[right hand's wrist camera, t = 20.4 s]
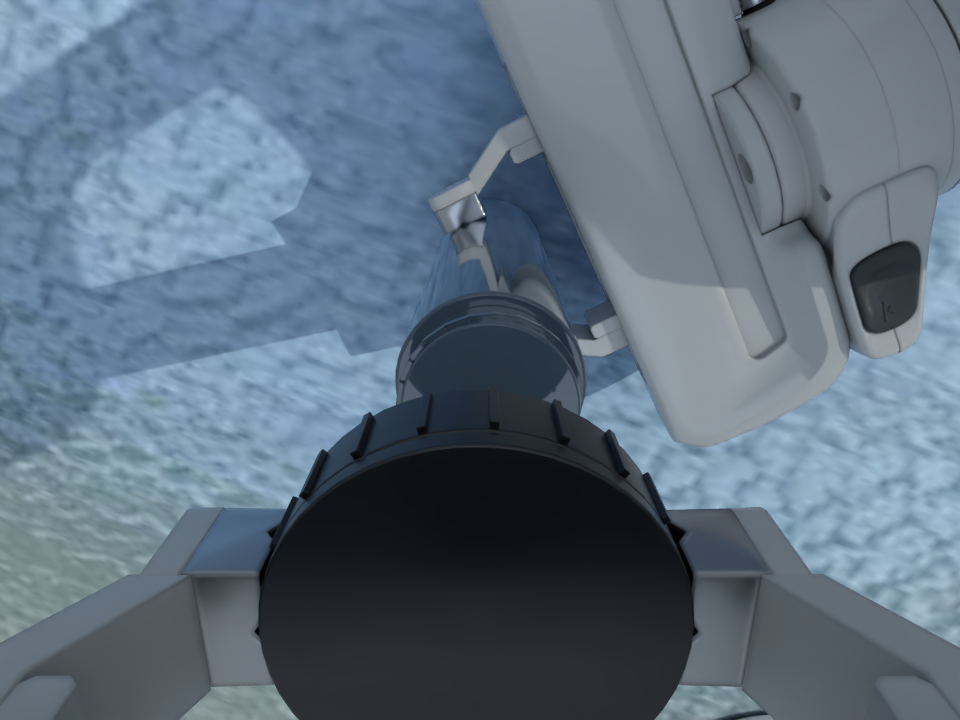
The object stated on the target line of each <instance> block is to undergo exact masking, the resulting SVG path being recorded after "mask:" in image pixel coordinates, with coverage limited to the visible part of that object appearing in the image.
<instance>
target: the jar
mask: <svg viewBox="0 0 960 720" xmlns="http://www.w3.org/2000/svg"><path fill="white" fill-rule="evenodd" d="M482 201H483V203H484V205H485V207H486V216H484V217H482V218H480V219H478V220H476V221H474V222H471V223H465V222H463V223H462V225H461V227H460V228H459V229H458V230H456V231H454V232H452V233H449V234H444V236H443V239H442V242H441V244H440V247H439V250H438V252H437V255H436V258H435V260H434V263H433V266H432V268H431V271H430V274H429V276H428V279H427V282H426V284H425V287H424V290H423V292H422V295H421V298H420V300H419V303H418V305H417V308H416V311H415V313H414V316H413V319H412V321H411V324H410V327H409V329H408V332H407V335H406V337H405V340H404V343H403V345H402V348H401V351H400V354H399V357H398V361H397V366H396V375H395V385H396V394H397V401H396V405H398V404H400V403H403V402H405V401H408V400H412V399H415V398H419V397H422V395H423V392H424V391H428V390H431V392H432V394H435V393H443V392H450V391H458V390H489V386H497V388H498V391H503V392H512V393H517V394H521V395H526V396H530V397H534V398H538V399H542V400H544V401H547V402H550V403H552V402H553V400H554V399H556V400H558V401H561V403H562V407H563V408H565V409H567V410H569V411H571V412H573V413H575V414H577V415H579V416H580V412H581V409H582V405H583V402H584V398H585V392H586V368H585V362H584V358H583V355H582V351H581V348H580V346H579V343H578V340H577V338H576V335H575V332H574V329H573V327H572V324H571V321H570V319H569V316H568V313H567V310H566V308H565V305H564V302H563V299H562V297H561V294H560V291H559V289H558V286H557V283H556V280H555V278H554V275H553V272H552V270H551V267H550V264H549V261H548V259H547V256H546V253H545V251H544V248H543V245H542V242H541V240H540V237H539V234H538V231H537V229H536V227H535V225H534V223H533V222H532V220H531V219H530V217H529V216H528V215H527V214H526V213H525V212H524V211H523V210H522V209H520V208H519V207H517V206H515V205H514V204H512V203H509V202H506V201H502V200H496V199H486V200H482Z"/></svg>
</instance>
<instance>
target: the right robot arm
mask: <svg viewBox="0 0 960 720" xmlns="http://www.w3.org/2000/svg"><path fill="white" fill-rule="evenodd" d="M286 510H287V509H262V508H223V507H216V508H192V509H189V510H187V511H186V512H185V513H184V515H183V516H182V517H181V519H180V520H179V521H178V523H177V524H176V525H175V527H174V528H173V530H172V531H171V532H170V534H169V535H168V536H167V538H166V539H165V541H164V542H163V543H162V545H161V546H160V547H159V549H158V550H157V551H156V553H155V554H154V556H153V557H152V558H151V560H150V561H149V562H148V564H147V565H146V566H145V568H144V569H143V571H142V572H141V573H140V575H127V576H125V577H124V578H122V579H120V580H118V581H116V582H114V583H112V584H110V585H108V586H107V587H105V588H103V589H101V590H99V591H97V592H95V593H93V594H92V595H90V596H88V597H86V598H84V599H82V600H80V601H78V602H76V603H75V604H73V605H71V606H69V607H67V608H65V609H63V610H61V611H60V612H58V613H56V614H54V615H52V616H50V617H48V618H46V619H44V620H43V621H41V622H39V623H37V624H35V625H33V626H31V627H29V628H28V629H26V630H24V631H22V632H20V633H18V634H16V635H14V636H12V637H11V638H9V639H7V640H5V641H3V642H1V643H0V720H179V719H180V718H181V717H182V716H183V715H184V714H186V713H187V712H188V711H189V710H190V709H191V708H192V707H193V706H194V705H195V704H196V703H197V702H199V701H200V700H201V699H202V698H203V697H204V696H205V695H206V694H207V693H208V692H209V691H210V690H211V688H210V687H220V686H254V685H274V682H273V680H272V678H271V676H270V674H269V671H268V668H267V665H266V662H265V659H264V656H263V653H262V648H261V642H260V635H259V629H258V604H259V598H260V592H261V587H262V581H263V578H264V575H265V573H266V570H267V567H268V564H269V561H270V558H271V556H272V554H273V552H274V550H273V549H270V548H269V546H270V544H271V541H272V539H273V537H274V535H275V533H276V531H277V529H278V527H279V524H280V522H281V520H282V518H283V516H284V514H285V512H286ZM667 513H668V515H669V517H670V519H671V522H670V523H668V524H667V527H668V529H669V531H670V533H671V536H673V537H675V539H676V541H677V544H678V551H679V554H680V556H681V559H682V561H683V564H684V566H685V569H686V571H687V574H688V577H689V581H690V586H691V590H692V595H693V600H694V631H693V640H692V647H691V651H690V654H689V658H688V661H687V665H686V668H685V671H684V673H683V675H682V677H681V679H680V682H679V685H697V686H733V687H742V690H743V691H744V692H745V693H746V694H747V695H748V696H749V697H750V698H751V699H752V700H754V701H755V702H756V703H757V704H758V705H759V706H760V707H761V708H762V709H763V710H764V711H765V712H766V713H767V714H769V715H770V716H771V717H772V718H773V719H774V720H960V648H959V647H957V646H955V645H953V644H951V643H949V642H948V641H946V640H944V639H942V638H940V637H938V636H936V635H935V634H933V633H931V632H929V631H927V630H925V629H923V628H922V627H920V626H918V625H916V624H914V623H912V622H910V621H909V620H907V619H905V618H903V617H901V616H899V615H897V614H896V613H894V612H892V611H890V610H888V609H886V608H884V607H883V606H881V605H879V604H877V603H875V602H873V601H871V600H870V599H868V598H866V597H864V596H862V595H860V594H858V593H857V592H855V591H853V590H851V589H849V588H847V587H845V586H844V585H842V584H840V583H838V582H836V581H834V580H832V579H831V578H829V577H827V576H825V575H813V574H812V573H811V571H810V570H809V569H808V567H807V566H806V564H805V563H804V562H803V560H802V559H801V558H800V556H799V555H798V553H797V552H796V551H795V549H794V548H793V546H792V545H791V544H790V542H789V541H788V540H787V538H786V537H785V535H784V534H783V533H782V531H781V530H780V528H779V527H778V526H777V524H776V523H775V522H774V520H773V519H772V517H771V516H770V515H769V513H768V512H767V511H766V510H765V509H763V508H761V507H749V508H727V509H690V510H667Z"/></svg>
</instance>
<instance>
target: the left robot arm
mask: <svg viewBox="0 0 960 720" xmlns="http://www.w3.org/2000/svg"><path fill="white" fill-rule="evenodd" d="M474 1H475V3H476V5H477V8H478V10H479V12H480V15H481V17H482V19H483V21H484V24H485V26H486V28H487V30H488V33H489V35H490V37H491V39H492V42H493V44H494V46H495V48H496V51H497V53H498V55H499V57H500V60H501V62H502V64H503V66H504V69H505V71H506V73H507V75H508V78H509V80H510V82H511V84H512V87H513V89H514V91H515V93H516V96H517V98H518V100H519V102H520V104H521V107H522V109H523V111H524V113H525V114H524V115H522V116H520V117H519V118H517V119H515V120H513V121H511V122H509V123H507V124H505V125H503V126H502V127H500V128H498V129H497V130H496V131H495V133H494V135H493V136H492V138H491V139H490V141H489V142H488V144H487V145H486V147H485V149H484V150H483V152H482V153H481V155H480V156H479V158H478V159H477V161H476V163H475V164H474V166H473V167H472V169H471V170H470V172H469V175H468V177H466V178H464V179H462V180H460V181H458V182H456V183H454V184H452V185H450V186H448V187H446V188H445V189H443V190H441V191H439V192H437V193H435V194H434V195H432V196H431V197H429V199H428V200H427V201H428V203H429V205H430V207H431V209H432V211H433V213H434V215H435V216H436V218H437V220H438V222H439V224H440V226H441V228H442V230H443V231H444V233H445V234H449V233H452V232H454V231H456V230H458V229H459V228H460V227H461V225H462V223H463V222H465V223H471V222H474V221H476V220H478V219H480V218H482V217H484V216H486V207H485V205H484V203H483V201H482V199H481V197H480V194H479V193H480V191H481V190H482V188H483V187H484V185H485V184H486V182H487V181H488V179H489V178H490V176H491V175H492V173H493V172H494V170H495V169H496V167H497V166H498V164H499V162H500V161H501V159H502V158H503V156H504V155H505V153H506V152H507V151H509V154H510V156H511V158H512V160H513V162H514V163H516V164H519V163H521V162H523V161H525V160H527V159H529V158H531V157H533V156H536V155H538V154H540V153H542V154H543V156H544V158H545V161H546V163H547V165H548V167H549V170H550V172H551V174H552V176H553V179H554V181H555V183H556V185H557V188H558V190H559V192H560V194H561V197H562V199H563V201H564V203H565V206H566V208H567V210H568V212H569V215H570V217H571V219H572V221H573V224H574V226H575V228H576V230H577V233H578V235H579V237H580V239H581V242H582V244H583V246H584V248H585V251H586V253H587V255H588V257H589V260H590V262H591V264H592V266H593V269H594V271H595V273H596V275H597V278H598V280H599V282H600V284H601V287H602V289H603V291H604V293H605V296H606V298H607V300H608V301H606V302H604V303H602V304H600V305H597V306H595V307H593V308H591V309H589V310H587V311H585V313H584V316H585V318H586V321H587V323H588V325H581V324H572V327H573V329H574V332H575V335H576V338H577V340H578V343H579V346H580V348H581V351H582V355H585V356H596V357H603V356H606V355H608V354H610V353H612V352H615V351H617V350H619V349H622V348H624V347H626V346H628V347H629V349H630V352H631V354H632V356H633V358H634V361H635V363H636V365H637V367H638V370H639V372H640V374H641V376H642V379H643V381H644V383H645V385H646V388H647V390H648V392H649V394H650V397H651V399H652V401H653V403H654V406H655V408H656V410H657V412H658V414H659V416H660V418H661V420H662V422H663V424H664V426H665V428H666V430H667V431H668V433H669V435H670V436H671V438H672V439H673V440H674V441H675V442H678V443H682V444H686V445H692V446H698V447H709V446H713V445H717V444H719V443H722V442H725V441H727V440H730V439H732V438H735V437H737V436H739V435H742V434H744V433H746V432H749V431H751V430H753V429H755V428H757V427H759V426H762V425H764V424H766V423H768V422H770V421H772V420H774V419H776V418H778V417H780V416H782V415H784V414H786V413H788V412H790V411H792V410H794V409H796V408H798V407H800V406H801V405H803V404H805V403H807V402H809V401H810V400H812V399H814V398H815V397H817V396H818V395H820V394H821V393H822V392H824V391H825V390H826V389H828V388H829V387H830V386H831V385H832V384H833V383H834V382H835V381H836V380H837V379H838V377H839V376H840V375H841V373H842V372H843V370H844V368H845V366H846V364H847V361H848V357H849V350H850V349H852V350H854V351H856V352H858V353H860V354H862V355H864V356H866V357H868V358H871V359H881V358H885V357H888V356H892V355H894V354H897V353H898V352H901V351H904V350H905V349H907V348H909V347H910V346H912V345H913V344H914V343H915V342H916V340H917V339H918V337H919V334H920V331H921V327H922V320H923V307H924V293H925V280H926V269H927V260H928V251H929V243H930V237H931V230H932V224H933V219H934V214H935V209H936V204H937V199H938V196H939V195H941V194H943V193H945V192H948V191H949V190H951V189H952V188H954V187H955V186H957V185H958V184H959V183H960V0H474ZM742 11H743V14H742ZM740 14H742V15H741V16H742V17H741V18H738V19H735V17H736V16H738V15H740ZM737 720H774V719H773V718H772V717H771V716H770V715H759V716H752V717H746V718H741V719H737Z"/></svg>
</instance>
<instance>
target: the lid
mask: <svg viewBox="0 0 960 720" xmlns="http://www.w3.org/2000/svg"><path fill="white" fill-rule="evenodd" d="M670 522H671V519H670V517H669V515H668V513H667V510H666V508H665V506H664V504H663V502H662V500H661V497H660V495H659V493H658V491H657V489H656V486H655V484H654V482H653V480H652V478H651V476H650V474H649V473H648V472H647V473H645V474H642V473H641V471H640V469H639V468H638V466H637V465H636V464H635V463H634V461H633V460H632V459H631V458H630V456H629V455H628V454H627V453H626V451H625V450H624V449H623V448H622V447H620V446H619V444H618V441H617V439H616V436H615V434H614V433H613V432H612V431H611V430H610V429H609V430H608V431H606V432H604V431H602V430H601V429H599V428H598V427H596V426H595V425H594V424H592V423H591V422H589V421H588V420H586V419H585V418H583V417H581V416H579V415H577V414H575V413H573V412H571V411H569V410H567V409H565V408H563V407H562V403H561V401H558V400H556V399H554V400H553V402H552V403H550V402H547V401H544V400H542V399H538V398H534V397H530V396H526V395H521V394H517V393H512V392H503V391H498V388H497V386H489V390H458V391H450V392H443V393H435V394H432V392H431V390H428V391H424V392H423V395H422V397H419V398H415V399H412V400H408V401H405V402H403V403H400V404H398V405H395V406H393V407H390V408H388V409H385V410H383V411H381V412H380V413H378V414H376V415H374V416H373V415H372V414H371V412H369V413H367V414H366V415H364V416H363V419H362V422H361V423H360V424H359V425H358V426H356V427H355V428H354V429H352V430H351V431H350V432H348V433H347V434H346V435H344V436H343V437H342V438H341V439H340V440H339V441H338V442H337V443H336V444H335V445H334V446H333V447H332V448H331V449H330V450H329V451H328V452H326V451H325V450H323V449H322V450H321V451H320V453H319V454H318V456H317V458H316V460H315V462H314V464H313V466H312V469H311V471H310V473H309V475H308V477H307V479H306V482H305V484H304V486H303V488H302V490H301V492H300V494H299V498H297V497H294V496H293V497H292V499H291V501H290V503H289V506H288V508H287V510H286V512H285V514H284V516H283V518H282V520H281V522H280V524H279V527H278V529H277V531H276V533H275V535H274V537H273V539H272V541H271V544H270V546H269V548H270V549H273V550H274V552H273V554H272V556H271V558H270V561H269V564H268V567H267V570H266V573H265V575H264V578H263V581H262V587H261V592H260V598H259V604H258V629H259V635H260V642H261V648H262V653H263V656H264V659H265V662H266V665H267V668H268V671H269V674H270V676H271V678H272V680H273V682H274V684H275V686H276V688H277V690H278V692H279V694H280V695H281V697H282V698H283V700H284V701H285V703H286V704H287V706H288V707H289V708H290V710H291V711H292V713H293V714H294V715H295V716H296V717H297V718H298V719H299V720H654V719H655V718H656V717H657V716H658V715H659V713H660V712H661V711H662V710H663V709H664V707H665V706H666V704H667V703H668V701H669V699H670V698H671V696H672V695H673V693H674V692H675V690H676V688H677V686H678V684H679V682H680V679H681V677H682V675H683V673H684V671H685V668H686V665H687V661H688V658H689V654H690V651H691V647H692V640H693V631H694V600H693V595H692V590H691V586H690V581H689V577H688V574H687V571H686V569H685V566H684V564H683V561H682V559H681V556H680V554H679V551H678V544H677V541H676V539H675V537H673V536H671V533H670V531H669V529H668V527H667V524H668V523H670Z"/></svg>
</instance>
